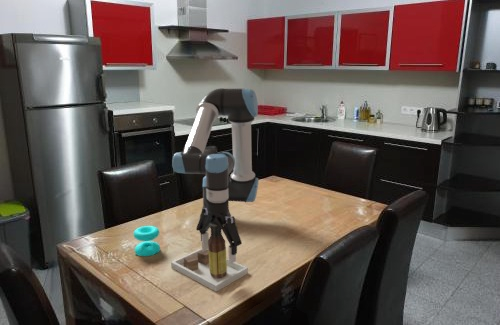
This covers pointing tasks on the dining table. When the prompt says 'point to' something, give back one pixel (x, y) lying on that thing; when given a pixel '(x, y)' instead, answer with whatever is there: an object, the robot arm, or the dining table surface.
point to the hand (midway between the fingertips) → (218, 255)
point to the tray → (204, 274)
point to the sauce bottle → (217, 252)
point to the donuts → (146, 240)
